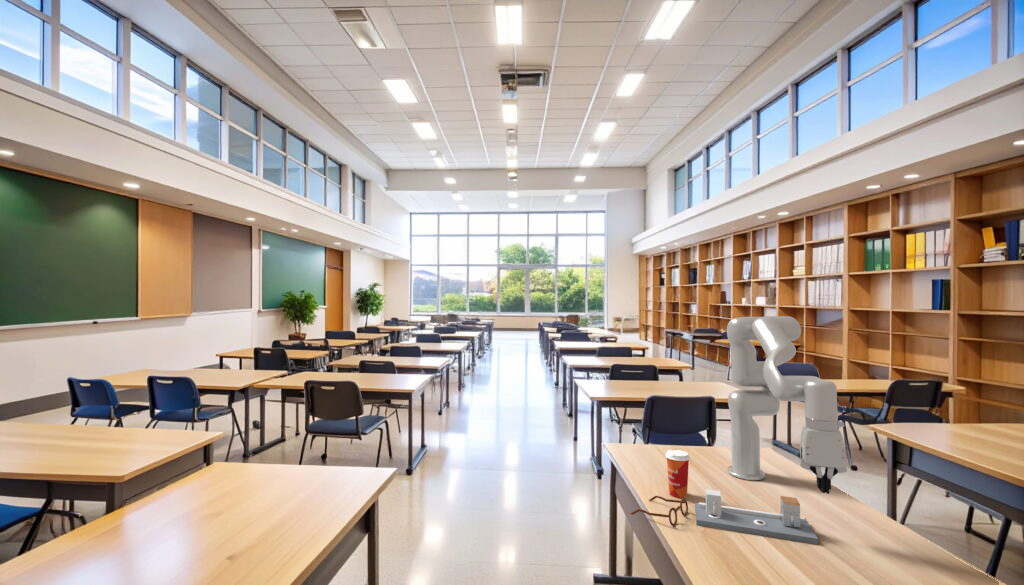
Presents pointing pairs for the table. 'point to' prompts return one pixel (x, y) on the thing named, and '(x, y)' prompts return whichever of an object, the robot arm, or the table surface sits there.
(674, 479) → the paper cup
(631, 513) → the glasses
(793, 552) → the table surface
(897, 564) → the table surface
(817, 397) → the robot arm
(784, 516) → the block
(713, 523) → the divider plate
